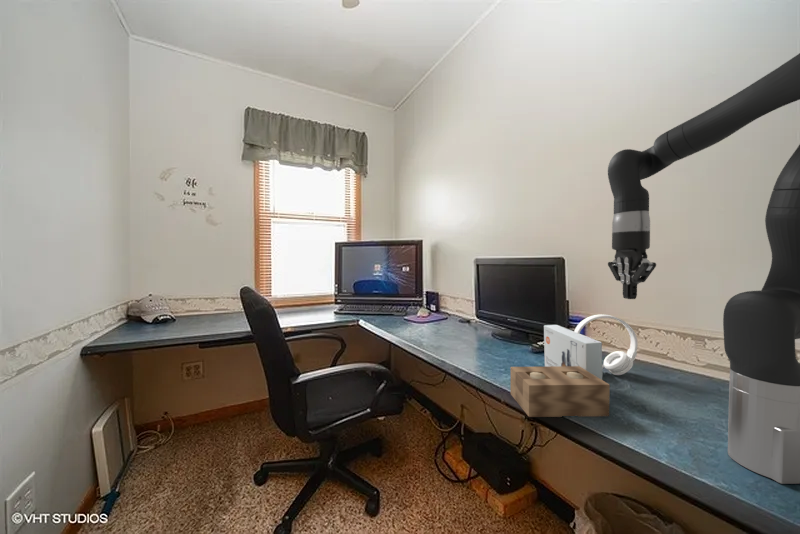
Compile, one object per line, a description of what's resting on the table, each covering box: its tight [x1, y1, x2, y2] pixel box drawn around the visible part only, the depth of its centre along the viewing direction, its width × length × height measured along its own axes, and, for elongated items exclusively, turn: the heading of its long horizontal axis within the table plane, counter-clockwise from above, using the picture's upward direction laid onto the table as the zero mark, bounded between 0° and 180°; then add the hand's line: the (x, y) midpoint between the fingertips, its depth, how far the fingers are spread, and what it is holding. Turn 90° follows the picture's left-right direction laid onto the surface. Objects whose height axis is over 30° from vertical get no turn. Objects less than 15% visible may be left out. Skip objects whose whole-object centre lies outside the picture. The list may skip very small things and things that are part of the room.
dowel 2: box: [567, 372, 583, 379], centre depth 77 cm, size 4×4×8 cm
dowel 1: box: [530, 372, 546, 379], centre depth 77 cm, size 4×4×8 cm
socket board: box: [510, 366, 611, 418], centre depth 77 cm, size 20×12×8 cm, turn 90°
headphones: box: [573, 313, 639, 376], centre depth 97 cm, size 8×19×20 cm, turn 78°
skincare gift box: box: [543, 324, 603, 380], centre depth 91 cm, size 21×5×16 cm, turn 4°
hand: (629, 298), depth 73 cm, fingers closed
